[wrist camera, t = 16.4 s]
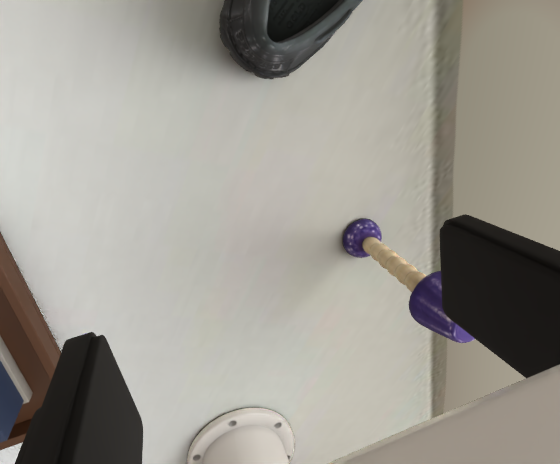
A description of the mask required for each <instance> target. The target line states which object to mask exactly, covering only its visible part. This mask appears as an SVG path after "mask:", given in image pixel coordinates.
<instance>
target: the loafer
mask: <svg viewBox="0 0 560 464" xmlns="http://www.w3.org/2000/svg"><path fill="white" fill-rule="evenodd" d="M361 2H362V0H225V2H224V5H223V8H222V11H221V15H220V33H221V34H220V37H221V39H222V42H223V44H224V45H225V47H227V48H228V50H229V51H230V55H231V56H232V58H233V59H234V60H235V61H236V62H237V63H238V64H239V65H240V66H241V67H243V68H244V69H246V70H247V71H250V72H253V73H254V74H255V75H256V76H258V77H260V78H264V79H268V78H269V79H273V78H282V77H286V76H289V74H290V73H291V72H293V71H295V70H296V69H298V68H299V67H300V66H301V65H302V64H304V63H305V62H306V61H307V60H308V59H309V58H310V57H311V56H313V55H314V54H315V53H316V52H317V51H318V50H320V48H322V47H323V46H324V45H325V44H326V43H327V42H328V41H329V39H330V38H331V37H332V35H333V34H334V33H335V32H336V30H337V29H339V28H340V27H341V26H342V25H343V24H344V23H345V21H346V20H347V19H348V18H349V16H350V15H351V13H352V11H353V10H354V9H355V8H356V7H357V6H358V5H359V4H360V3H361Z"/></svg>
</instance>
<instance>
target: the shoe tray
mask: <svg viewBox="0 0 560 464" xmlns="http://www.w3.org/2000/svg"><path fill="white" fill-rule="evenodd" d="M0 336H1V338H2V339H3V341H4V343H5V345H6V346H7V348H8V350H9V352H10V353H11V355H12V357H13V359H14V361H15V362H16V364H17V366H18V368H19V369H20V371H21V373H22V375H23V376H24V378H25V380H26V382H27V383H28V385H29V387H30V389H31V390H32V392H33V394H32V396H31V399H30V401H29V402H27V403H24V404H23V405H22V407H21V409H20V412H19V414H18V416H17V419H16V421H15V423H14V426H13V428H12V430H11V433H10V435H9V437H8V440H7V441H4V442H1V443H0V450H2V449H5V448H8V447H10V446H13V445H16V444H19V443H22V442H23V441H24V438H25V436H26V433H27V430H28V428H29V425H30V423H31V420H32V417H33V415H34V413H35V412H36V410H37V409H39V408H40V407H42V404H43V401H44V399H45V396H46V393H47V390H48V388H49V385H50V382H51V379H52V377H53V374H54V371H55V368H56V366H57V363H58V360H59V358H60V355H61V352H60V350H59V348H58V346H57V344H56V342H55V340H54V338H53V336H52V334H51V332H50V330H49V328H48V326H47V324H46V322H45V320H44V318H43V316H42V314H41V312H40V310H39V308H38V306H37V304H36V302H35V300H34V298H33V296H32V294H31V292H30V290H29V288H28V286H27V284H26V282H25V280H24V278H23V276H22V274H21V272H20V271H19V269H18V267H17V265H16V263H15V261H14V259H13V257H12V255H11V253H10V251H9V249H8V247H7V245H6V243H5V241H4V239H3V237H2V235H1V233H0Z"/></svg>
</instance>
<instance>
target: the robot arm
mask: <svg viewBox="0 0 560 464" xmlns="http://www.w3.org/2000/svg"><path fill="white" fill-rule="evenodd" d="M440 257H441V287H442V308H443V311H444V313H445V314H446V316H447V317H448V318H449V319H451V320H452V321H453V322H454V323H456V324H457V325H458V326H460V327H461V328H462V329H463V330H465V331H466V332H467V333H469V334H470V335H471V336H473V337H474V338H475V339H476V340H478V341H479V342H480V343H482V344H483V345H484V346H485V347H487V348H488V349H489V350H491V351H492V352H493V353H494V354H496V355H497V356H498V357H500V358H501V359H502V360H504V361H505V362H506V363H508V364H509V365H510V366H511V367H513V368H514V369H515V370H516V371H518V372H519V373H521V374H522V375H523V376H524V377H526V379H524V380H522V381H519V382H517V383H514V384H512V385H510V386H507V387H505V388H502V389H500V390H498V391H495V392H493V393H491V394H488V395H486V396H484V397H481V398H479V399H477V400H474V401H472V402H470V403H467V404H465V405H463V406H460V407H458V408H455V409H453V410H451V411H448V412H447V413H444V414H441V415H439V416H437V417H434V418H432V419H430V420H427V421H425V422H423V423H420V424H418V425H416V426H413V427H411V428H409V429H406V430H404V431H402V432H399V433H397V434H395V435H392V436H390V437H388V438H385V439H383V440H381V441H378V442H376V443H374V444H372V445H369V446H367V447H365V448H362V449H360V450H358V451H355V452H353V453H351V454H348V455H346V456H344V457H342V458H339V459H337V460H335V461H332V462H330V463H328V464H560V251H558V250H556V249H553V248H550V247H548V246H545V245H543V244H540V243H538V242H535V241H533V240H530V239H528V238H525V237H523V236H520V235H517V234H515V233H512V232H510V231H507V230H505V229H502V228H499V227H497V226H495V225H492V224H490V223H487V222H485V221H482V220H479V219H477V218H474V217H472V216H469V215H462V216H459V217H455V218H452V219H449V220H446V221H445V222H444V225H443V227H442V228H441V229H440ZM142 447H143V425H142V421H141V417H140V415H139V412H138V410H137V408H136V405H135V403H134V401H133V399H132V396H131V394H130V392H129V390H128V387H127V385H126V383H125V381H124V378H123V376H122V374H121V372H120V369H119V367H118V365H117V363H116V360H115V358H114V356H113V353H112V351H111V349H110V347H109V344H108V342H107V340H106V338H105V337H104V336H103V335H100V336H96V335H95V334H94V333H93V332H90V333H87V334H84V335H81V336H77V337H74V338H71V339H68V340H66V342H65V344H64V347H63V349H62V352H61V355H60V358H59V360H58V363H57V366H56V368H55V371H54V374H53V377H52V379H51V382H50V385H49V388H48V390H47V393H46V396H45V399H44V401H43V404H42V407H40V408H39V409H37V410H36V412H35V413H34V415H33V417H32V420H31V423H30V425H29V428H28V430H27V433H26V436H25V438H24V441H23V444H22V446H21V449H20V451H19V454H18V457H17V459H16V462H15V464H142ZM294 447H295V440H294V435H293V432H292V430H291V427H290V425H289V424H288V422H287V421H286V420H285V419H284V417H283V416H281V415H280V414H278V413H276V412H274V411H271V410H269V409H264V408H245V409H239V410H235V411H232V412H229V413H227V414H225V415H223V416H221V417H219V418H217V419H215V420H214V421H212V422H211V423H210V424H208V425H207V426H206V427H205V428H204V429H203V430H202V431H201V432H200V433H199V434H198V435H197V437H196V438H195V439H194V441H193V443H192V445H191V447H190V449H189V453H188V456H187V464H290V461H291V459H292V456H293V453H294Z"/></svg>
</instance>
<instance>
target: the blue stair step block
mask: <svg viewBox="0 0 560 464" xmlns="http://www.w3.org/2000/svg"><path fill="white" fill-rule="evenodd" d="M32 394H33V392H32V390H31V389H30V387H29V385H28V383H27V382H26V380H25V378H24V376H23V375H22V373H21V371H20V369H19V368H18V366H17V364H16V362H15V361H14V359H13V357H12V355H11V353H10V352H9V350H8V348H7V346H6V345H5V343H4V341H3V339H2V338H1V336H0V443H1V442H4V441H7V440H8V437H9V435H10V433H11V430H12V428H13V426H14V423H15V421H16V419H17V416H18V414H19V412H20V409H21V407H22V405H23V404H24V403H27V402H29V401H30V399H31V396H32Z"/></svg>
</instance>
